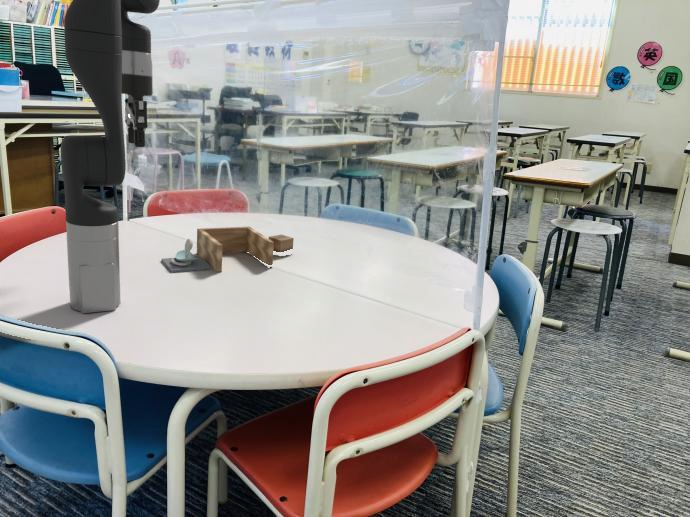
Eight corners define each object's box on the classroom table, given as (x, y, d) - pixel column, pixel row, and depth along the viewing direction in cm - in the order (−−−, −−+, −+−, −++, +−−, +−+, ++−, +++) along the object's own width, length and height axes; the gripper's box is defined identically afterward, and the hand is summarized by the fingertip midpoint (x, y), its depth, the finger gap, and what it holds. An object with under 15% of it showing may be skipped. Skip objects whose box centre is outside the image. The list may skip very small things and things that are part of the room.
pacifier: (176, 268, 134) (200, 266, 138) (175, 244, 133) (199, 242, 136) (167, 260, 140) (190, 258, 143) (166, 237, 138) (190, 235, 142)
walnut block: (292, 254, 158) (293, 238, 156) (280, 257, 154) (281, 240, 152) (280, 250, 161) (281, 234, 159) (267, 253, 157) (268, 236, 155)
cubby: (272, 267, 144) (273, 242, 142) (217, 272, 136) (217, 245, 134) (248, 250, 158) (249, 226, 156) (196, 253, 150) (197, 228, 148)
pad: (211, 269, 138) (211, 267, 138) (171, 272, 133) (171, 270, 133) (199, 258, 146) (199, 256, 146) (161, 260, 141) (161, 258, 141)
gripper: (158, 75, 121) (159, 149, 126) (146, 75, 133) (146, 142, 137) (122, 71, 117) (124, 147, 122) (112, 71, 129) (114, 141, 134)
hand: (136, 145), depth 130 cm, fingers open, 8 cm apart
